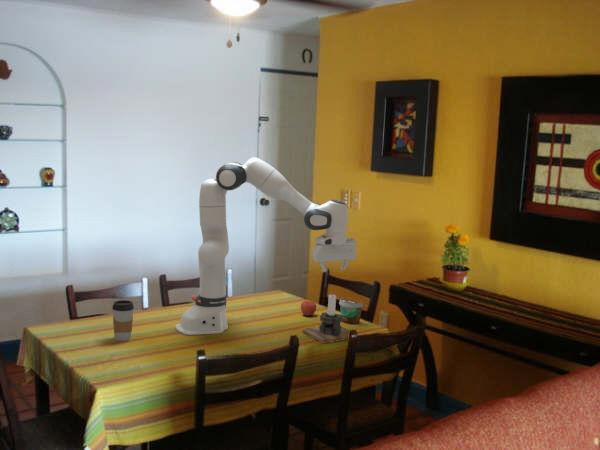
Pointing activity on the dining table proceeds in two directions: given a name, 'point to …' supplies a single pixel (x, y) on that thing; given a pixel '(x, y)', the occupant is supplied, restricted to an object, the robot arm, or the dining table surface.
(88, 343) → the dining table surface
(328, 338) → the collar stand
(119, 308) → the coffee cup
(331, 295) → the air tube
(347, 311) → the food container
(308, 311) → the apple
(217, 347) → the dining table surface
